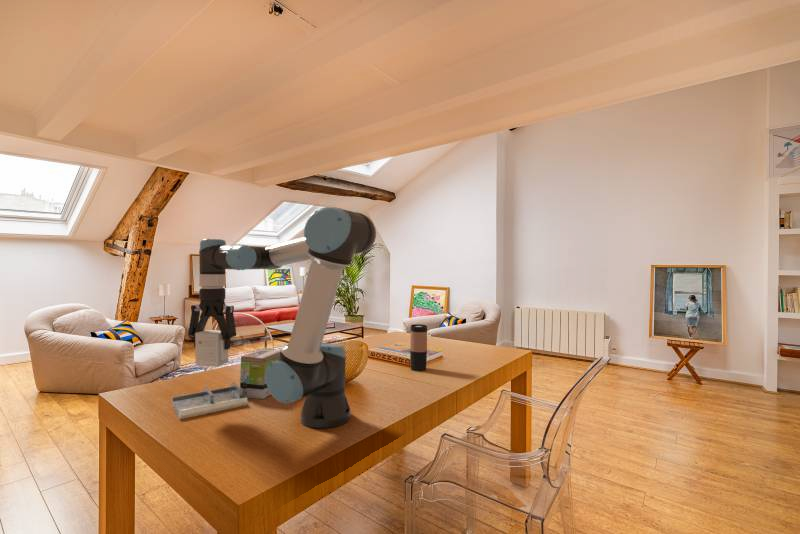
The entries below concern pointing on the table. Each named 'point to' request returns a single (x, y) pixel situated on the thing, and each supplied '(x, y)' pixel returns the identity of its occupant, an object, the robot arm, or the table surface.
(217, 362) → the small box
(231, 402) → the grey shallow tray
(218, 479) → the table surface
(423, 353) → the travel mug
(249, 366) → the tea box
